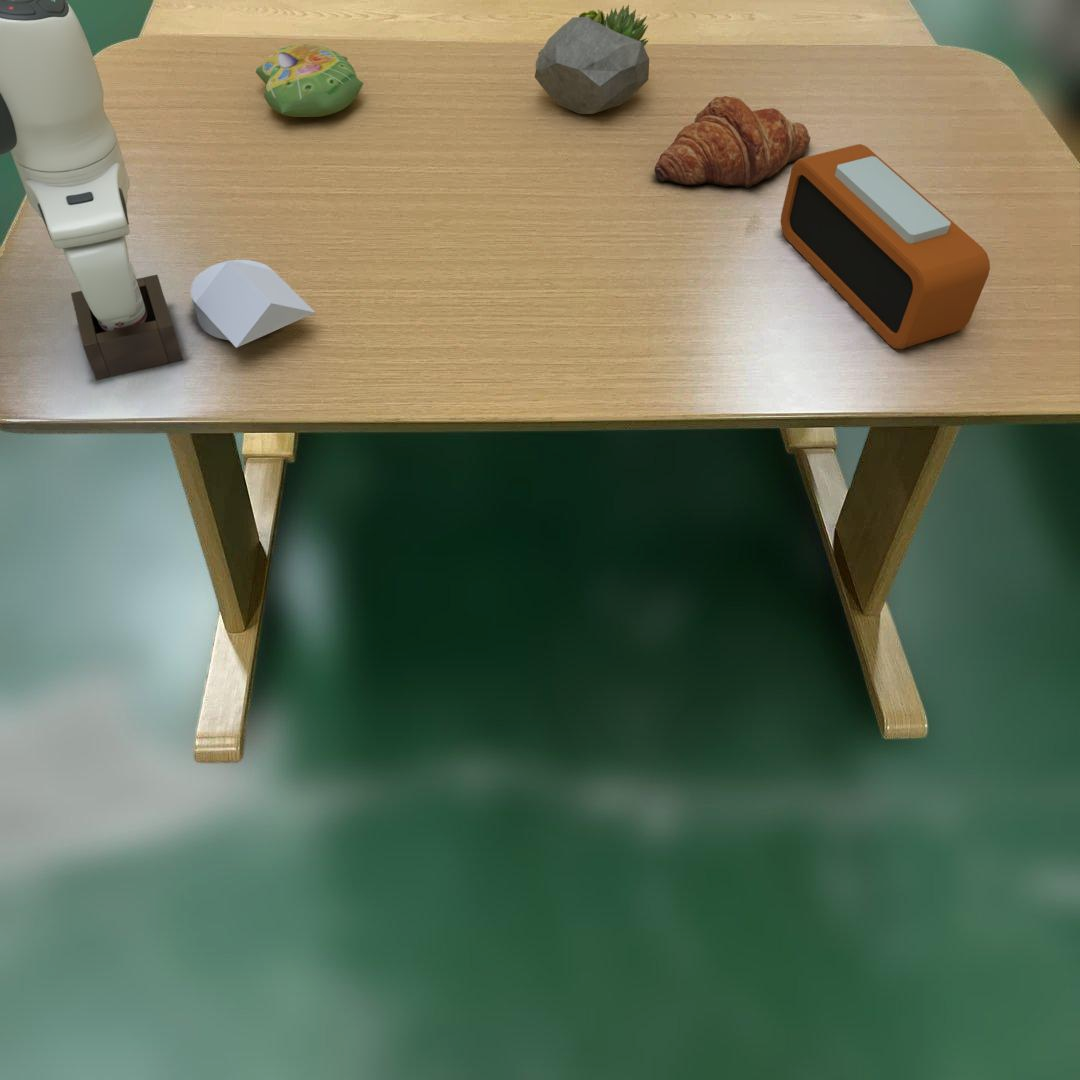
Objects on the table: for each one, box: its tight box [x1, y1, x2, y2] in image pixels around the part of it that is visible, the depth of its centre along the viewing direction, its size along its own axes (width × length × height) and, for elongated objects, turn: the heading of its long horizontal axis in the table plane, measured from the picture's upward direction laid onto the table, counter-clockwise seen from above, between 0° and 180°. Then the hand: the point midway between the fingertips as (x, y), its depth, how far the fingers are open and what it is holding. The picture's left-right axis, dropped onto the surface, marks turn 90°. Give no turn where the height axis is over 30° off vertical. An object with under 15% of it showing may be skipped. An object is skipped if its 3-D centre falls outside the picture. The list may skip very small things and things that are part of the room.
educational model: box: [255, 43, 364, 118], centre depth 142 cm, size 13×16×5 cm
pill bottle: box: [97, 261, 147, 332], centre depth 108 cm, size 5×5×8 cm
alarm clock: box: [780, 143, 991, 350], centre depth 119 cm, size 24×8×11 cm, turn 25°
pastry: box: [654, 95, 811, 189], centre depth 134 cm, size 17×15×8 cm
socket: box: [70, 274, 184, 381], centre depth 112 cm, size 9×9×4 cm
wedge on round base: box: [190, 259, 316, 349], centre depth 114 cm, size 9×7×13 cm
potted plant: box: [534, 4, 650, 115], centre depth 142 cm, size 12×13×15 cm
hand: (115, 298), depth 109 cm, fingers closed on pill bottle, 5 cm apart
